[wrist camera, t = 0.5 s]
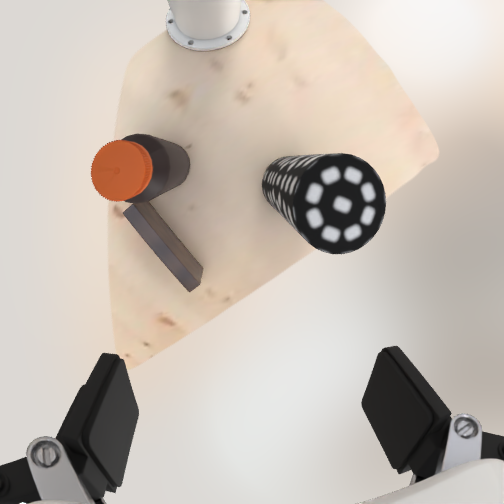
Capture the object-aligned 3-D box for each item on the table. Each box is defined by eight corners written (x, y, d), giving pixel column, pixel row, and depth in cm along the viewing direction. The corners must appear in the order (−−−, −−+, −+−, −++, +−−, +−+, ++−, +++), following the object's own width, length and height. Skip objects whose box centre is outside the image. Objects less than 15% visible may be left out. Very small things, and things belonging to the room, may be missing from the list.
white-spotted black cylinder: (254, 201, 42) (277, 236, 23) (273, 148, 39) (313, 136, 20) (306, 219, 43) (364, 265, 24) (325, 168, 41) (398, 177, 22)
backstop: (135, 206, 40) (122, 213, 34) (145, 197, 40) (132, 203, 34) (193, 276, 44) (189, 292, 39) (203, 268, 44) (200, 284, 38)
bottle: (152, 195, 40) (94, 224, 21) (139, 151, 38) (72, 147, 19) (196, 180, 40) (168, 197, 21) (183, 136, 38) (145, 115, 19)
